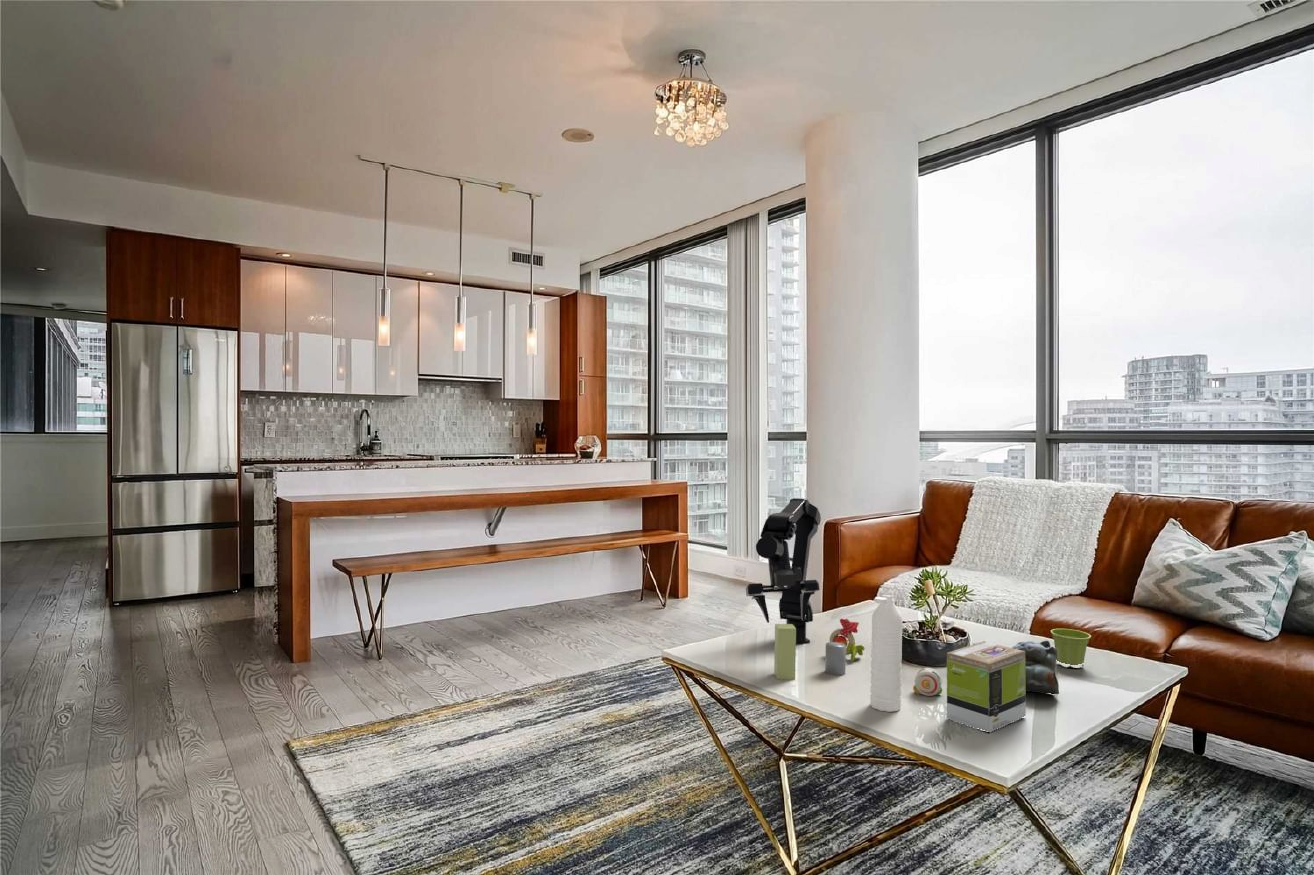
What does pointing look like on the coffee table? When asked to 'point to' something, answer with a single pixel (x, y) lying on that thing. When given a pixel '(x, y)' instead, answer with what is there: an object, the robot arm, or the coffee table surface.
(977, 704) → the tea box
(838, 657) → the grey cylinder
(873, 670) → the water bottle
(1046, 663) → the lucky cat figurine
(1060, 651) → the plant pot
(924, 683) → the roller toy
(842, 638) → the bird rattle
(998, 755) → the coffee table surface
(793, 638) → the olive brick
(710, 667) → the coffee table surface
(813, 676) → the coffee table surface
